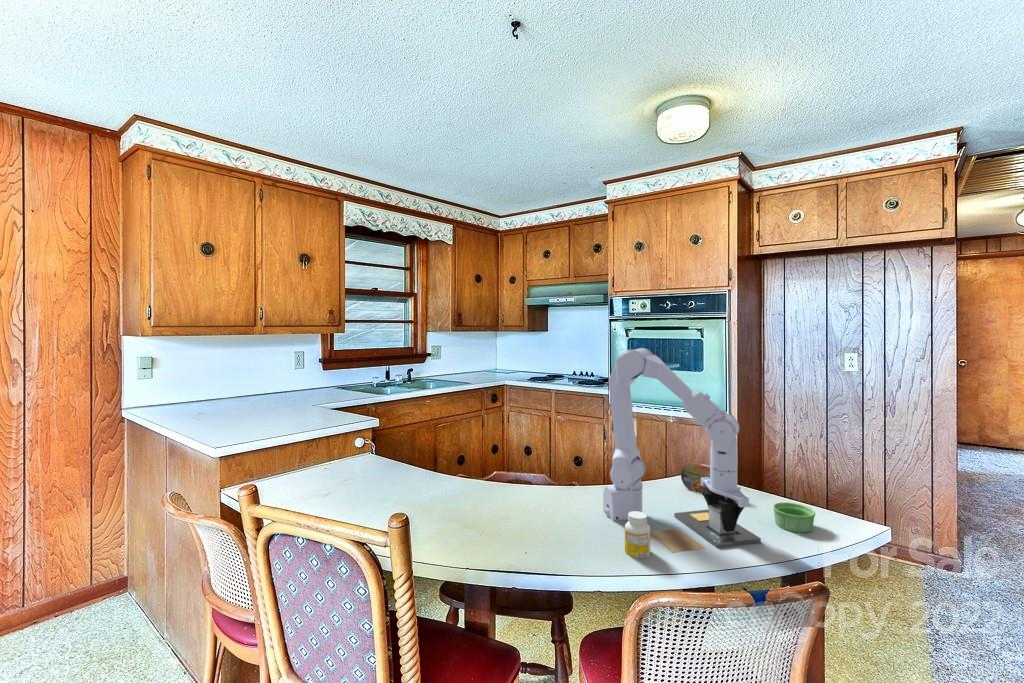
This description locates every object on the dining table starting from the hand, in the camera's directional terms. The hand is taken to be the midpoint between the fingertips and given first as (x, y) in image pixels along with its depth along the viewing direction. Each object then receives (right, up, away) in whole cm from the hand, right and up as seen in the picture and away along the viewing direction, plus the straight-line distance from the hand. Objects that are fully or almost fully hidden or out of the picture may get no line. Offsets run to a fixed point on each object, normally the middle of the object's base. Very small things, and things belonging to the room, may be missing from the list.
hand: (723, 526), depth 110 cm
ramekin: (+21, -3, +8) cm, 23 cm away
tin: (+9, -2, +31) cm, 32 cm away
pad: (-12, -4, -2) cm, 12 cm away
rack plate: (-1, -3, +3) cm, 5 cm away
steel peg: (0, -2, 0) cm, 2 cm away
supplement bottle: (-22, -4, -8) cm, 23 cm away
